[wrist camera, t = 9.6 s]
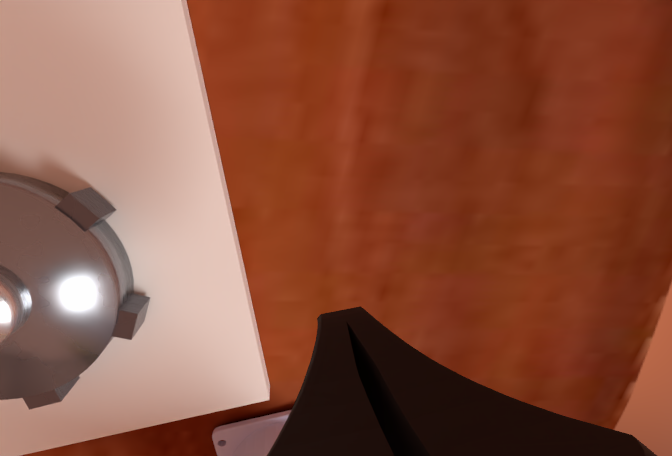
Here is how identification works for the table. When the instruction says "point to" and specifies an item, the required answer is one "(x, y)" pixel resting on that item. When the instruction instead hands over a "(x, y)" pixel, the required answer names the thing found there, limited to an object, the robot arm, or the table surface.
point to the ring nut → (58, 288)
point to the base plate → (132, 209)
